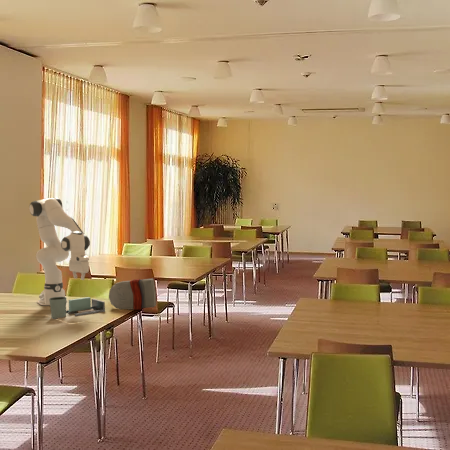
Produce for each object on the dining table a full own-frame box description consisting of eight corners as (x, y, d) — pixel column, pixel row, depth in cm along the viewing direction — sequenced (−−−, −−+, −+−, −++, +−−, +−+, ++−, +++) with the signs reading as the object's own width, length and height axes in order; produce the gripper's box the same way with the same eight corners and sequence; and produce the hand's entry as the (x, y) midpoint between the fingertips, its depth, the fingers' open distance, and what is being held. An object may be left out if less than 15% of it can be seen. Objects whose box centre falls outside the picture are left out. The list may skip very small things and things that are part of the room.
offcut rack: (64, 313, 413) (64, 302, 412) (93, 309, 426) (93, 298, 425) (75, 317, 401) (75, 306, 401) (105, 312, 414) (104, 301, 414)
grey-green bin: (70, 316, 404) (69, 297, 403) (59, 319, 395) (58, 300, 394) (57, 315, 409) (57, 296, 408) (46, 318, 400) (45, 298, 399)
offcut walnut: (77, 313, 410) (77, 310, 410) (92, 311, 414) (92, 309, 414) (78, 314, 406) (78, 312, 406) (94, 312, 411) (94, 310, 411)
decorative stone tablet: (154, 277, 425) (109, 281, 428) (152, 278, 418) (106, 283, 422) (157, 306, 426) (112, 310, 429) (155, 308, 420) (109, 312, 423)
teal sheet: (69, 314, 413) (68, 299, 412) (89, 311, 421) (88, 297, 421) (70, 314, 411) (70, 300, 410) (90, 311, 420) (90, 297, 419)
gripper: (66, 256, 420) (66, 278, 421) (81, 258, 404) (82, 281, 405) (75, 255, 424) (76, 277, 425) (90, 257, 408) (91, 280, 409)
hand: (79, 279), depth 415 cm, fingers open, 8 cm apart
